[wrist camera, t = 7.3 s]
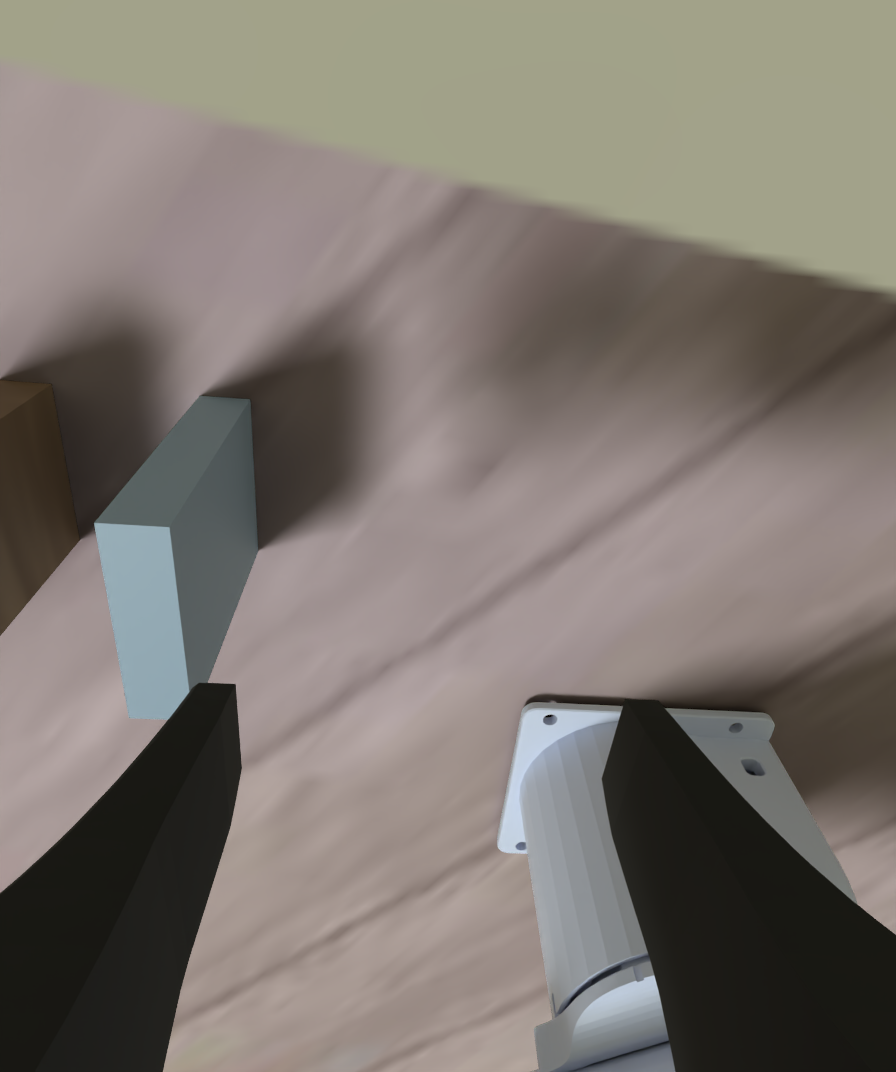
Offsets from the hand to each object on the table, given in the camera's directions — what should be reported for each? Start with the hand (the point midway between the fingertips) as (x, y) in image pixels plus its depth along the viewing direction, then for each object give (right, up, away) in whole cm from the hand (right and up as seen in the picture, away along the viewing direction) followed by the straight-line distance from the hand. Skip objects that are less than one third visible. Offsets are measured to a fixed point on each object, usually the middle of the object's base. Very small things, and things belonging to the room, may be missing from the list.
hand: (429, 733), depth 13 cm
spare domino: (-6, +5, +9) cm, 12 cm away
